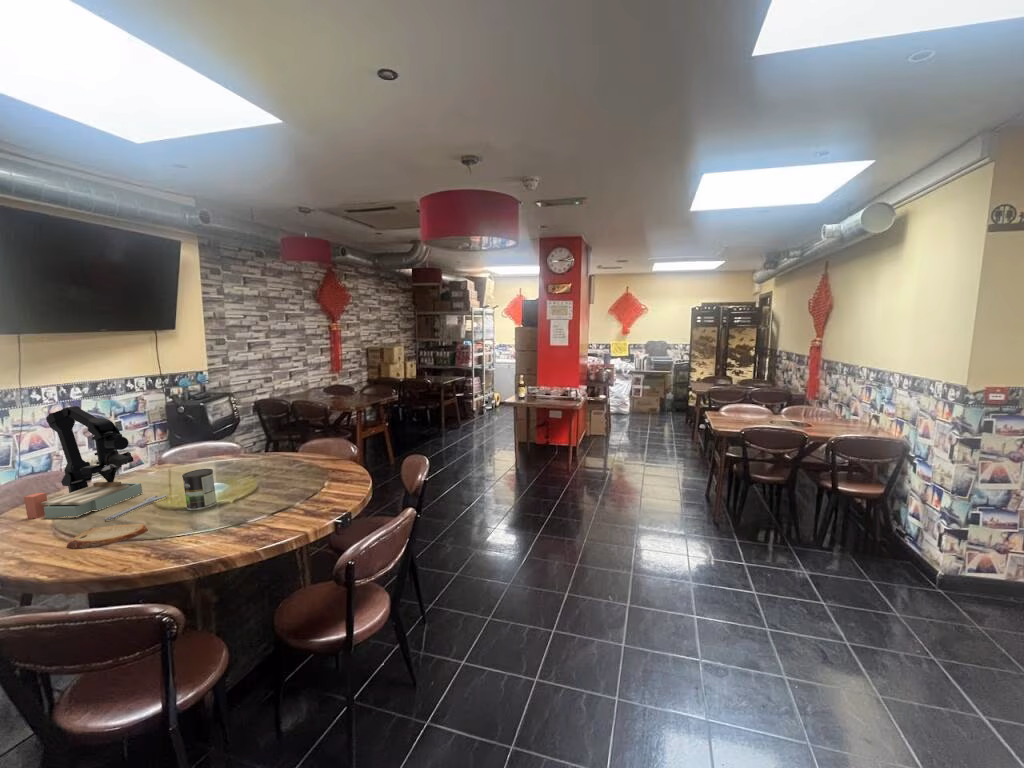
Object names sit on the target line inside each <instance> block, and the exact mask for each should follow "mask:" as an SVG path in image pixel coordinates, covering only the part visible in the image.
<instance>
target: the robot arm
mask: <svg viewBox="0 0 1024 768" xmlns="http://www.w3.org/2000/svg"><path fill="white" fill-rule="evenodd" d="M45 420H46V422H47V423H48V426H49V428H50V429H52V430H53V431H55V432H56V433H57V436H58V439H59V442H60V445H61V448H62V450H63V454H64V457H65V459H66V460H65V461H66V465H65V468H64V476H63V478H62V479H61V481H60V482H61V485H62V486H64V487H67V488H68V493H71V492H74V491H77V490H80V489H83V488H86V487H89V485H88V481H92V479H93V475H95V474H99V475H100V476H101V477H103V478H104V479H105V482H115V478H116V474H117V472H118V470H119V469H120V468H122V467H123V465H127V464H129V463H130V464H131V463H133V462H134V457H133V455H132V453H131V452H129V451H125V452H123V453H119V451H122V450H125V449H127V447H128V446H129V443H130V442H129V440H128V438H126V437H125V436H123V434H122V433H121V432H120V429H119V428H118V427H117V426H116V424H115V423H114V422H113V421H112V420H110V419H107V418H104V417H103V418H102V417H96V416H94V415H93V414H92V413H89V412H87V411H86V410H83V409H82V408H81V407H80V406H78V405H75V406H74V405H73V406H67V407H64V408H62V409H60V410H56V411H54V412H50V413H49V414H48V415H47V416H46V417H45ZM76 422H77V423H80V424H81V425H84V426H85V427H86V428H87V431H88V432H89V433H90V434H91V435H92V437H91V440H92V441H94V442H95V448H96V452H95V453H94V456H97V461H96V462H95V463H96V464H95V465H94V464H93V465H91V463H90V462H89V461H85V460H83V457H82V455H81V452H80V449H79V445H78V443H77V439H76V436H75V433H74V430H73V428H74V426H75V423H76Z"/></svg>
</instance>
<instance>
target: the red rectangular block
mask: <svg viewBox="0 0 1024 768" xmlns="http://www.w3.org/2000/svg"><path fill="white" fill-rule="evenodd" d="M47 496H48V495H47V493H46V492H36V493H32V494H29V495H26V496H23V501H24V505H25V511H26V516H27V519H33V518H37V519H40V518H42V517H45V512H44V507H46V506H49V505H41V503H42V502H44V501H47V500H48V497H47Z"/></svg>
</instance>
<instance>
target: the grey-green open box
mask: <svg viewBox="0 0 1024 768" xmlns="http://www.w3.org/2000/svg"><path fill="white" fill-rule="evenodd" d="M121 484H122V485H129V486H130V487H128V488H125V489H123V490H120V491H117V492H114V493H112V494H109V495H106V496H104V497H101V498H98V499H95V500H93V501H90V502H87V503H85V504H82V505H48V506H46V507H44V512H45V516H44V517H45V519H56V518H55V517H64V516H65V517H66V516H67V517H68V516H78V515H81V514H84V513H86V512H89V511H92V510H99V509H102V508H105V507H107V506H110V505H113V504H115V503H118V502H120V501H123V500H125V499H128V498H130V497H133V496H136V495H138V494H141V493H143V489H142V488H143V487H142V483H141V482H140V483H139V482H138V483H135V482H134V483H133V482H132V483H131V482H129V483H127V482H126V483H125V482H124V483H123V482H121ZM141 495H142V494H141ZM138 496H139V495H138ZM136 497H137V496H136ZM133 498H134V497H133ZM128 500H129V499H128ZM123 502H124V501H123ZM118 504H119V503H118ZM113 506H114V505H113ZM105 509H106V508H105Z"/></svg>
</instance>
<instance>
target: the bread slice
mask: <svg viewBox="0 0 1024 768" xmlns="http://www.w3.org/2000/svg"><path fill="white" fill-rule="evenodd" d="M148 529H149V528H147V526H146V525H144V524H142V523H131V524H130V523H129V524H128V523H127V524H118V525H111V526H110V525H108V526H101V527H90V528H89V529H87V530H84V531H83V532H80V533H79V534H77V535H76V536H75V537H73V538H72V539H71V540H70V541H69V542H68V543H67V544H66V548H67V549H69V548H71V549H75V550H79V549H80V550H81V549H89V548H95V547H102V546H106V545H111V544H114V543H115V544H116V543H119V542H122V541H127V540H129V539H133V538H136V537H138V536H141V535H143V534H144V533H146V532H148V531H149V530H148Z"/></svg>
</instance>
